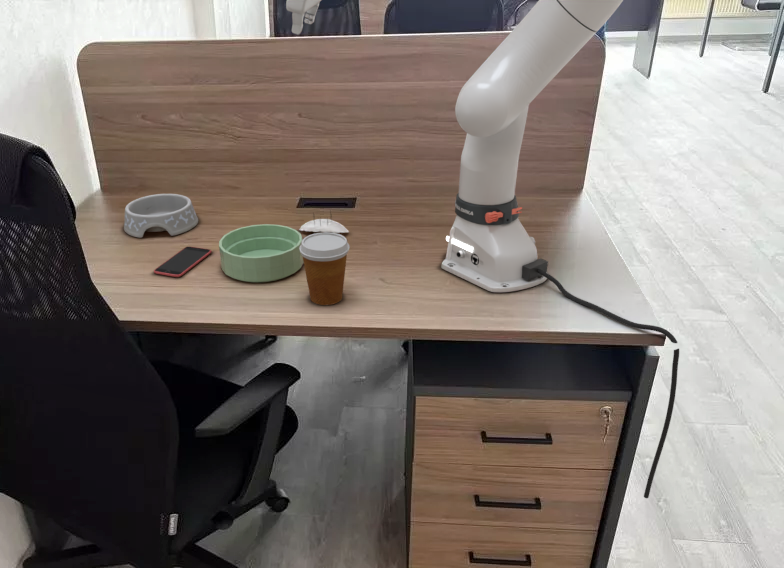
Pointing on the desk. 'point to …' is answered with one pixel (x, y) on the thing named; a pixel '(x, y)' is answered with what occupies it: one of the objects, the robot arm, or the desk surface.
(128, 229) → the dog bowl
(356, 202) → the desk surface
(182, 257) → the smartphone
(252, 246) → the bowl
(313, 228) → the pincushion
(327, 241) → the disposable coffee cup
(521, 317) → the desk surface
